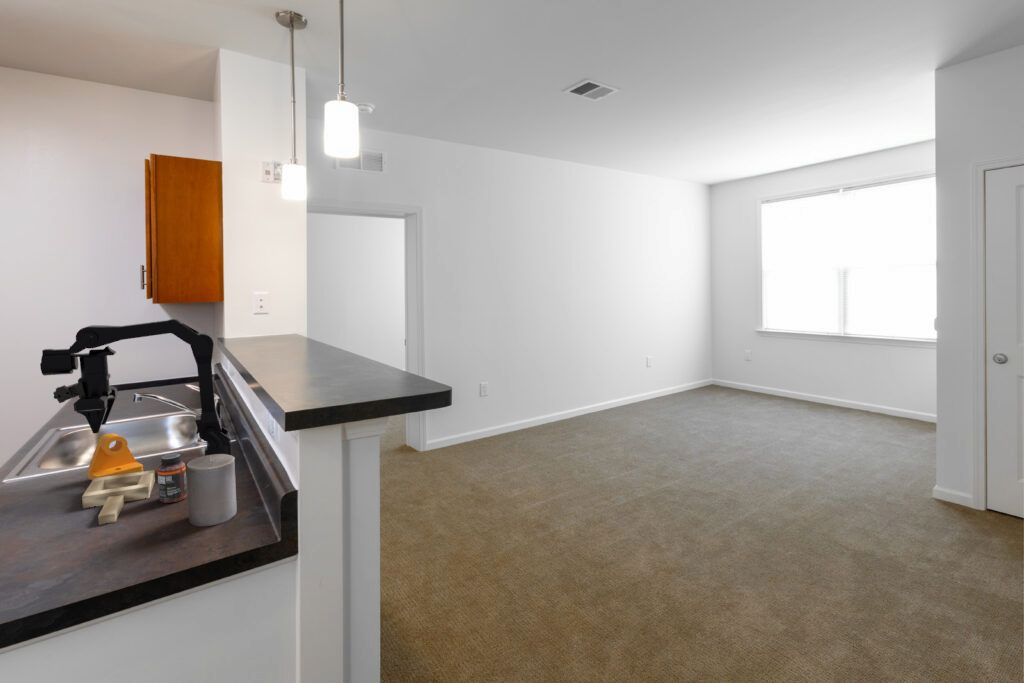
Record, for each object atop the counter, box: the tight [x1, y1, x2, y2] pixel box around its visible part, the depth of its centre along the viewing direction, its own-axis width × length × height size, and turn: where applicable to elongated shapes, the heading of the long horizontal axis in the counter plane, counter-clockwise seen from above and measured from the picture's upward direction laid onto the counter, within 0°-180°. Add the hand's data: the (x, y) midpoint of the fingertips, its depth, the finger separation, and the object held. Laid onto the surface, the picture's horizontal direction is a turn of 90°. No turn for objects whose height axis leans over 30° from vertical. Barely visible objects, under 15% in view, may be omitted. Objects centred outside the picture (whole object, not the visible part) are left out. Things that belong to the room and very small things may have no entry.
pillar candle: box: [186, 454, 238, 527], centre depth 117 cm, size 10×10×15 cm
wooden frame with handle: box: [81, 469, 156, 526], centre depth 125 cm, size 13×25×3 cm, turn 30°
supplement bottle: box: [156, 453, 188, 504], centre depth 127 cm, size 6×6×11 cm
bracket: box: [86, 433, 144, 482], centre depth 140 cm, size 11×7×12 cm, turn 147°
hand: (99, 428), depth 137 cm, fingers open, 9 cm apart
